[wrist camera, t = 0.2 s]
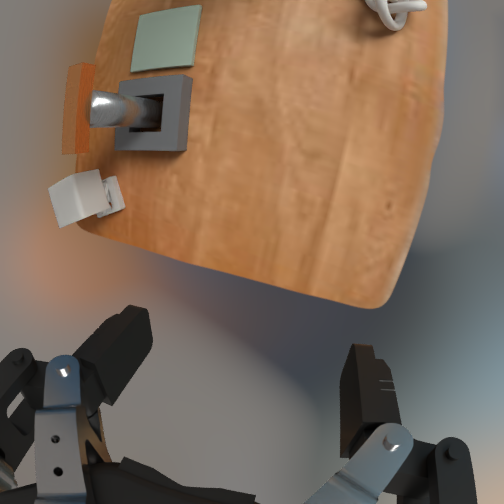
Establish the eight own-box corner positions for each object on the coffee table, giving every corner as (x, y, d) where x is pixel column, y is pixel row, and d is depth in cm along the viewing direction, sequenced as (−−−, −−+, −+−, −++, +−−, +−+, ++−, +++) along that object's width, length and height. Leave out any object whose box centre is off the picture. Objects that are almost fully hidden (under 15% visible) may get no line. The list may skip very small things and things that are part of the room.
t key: (148, 85, 35) (62, 68, 20) (172, 83, 34) (89, 60, 19) (143, 145, 38) (56, 154, 23) (166, 145, 38) (81, 153, 22)
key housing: (131, 84, 35) (119, 81, 33) (192, 78, 34) (183, 74, 31) (126, 149, 39) (114, 150, 36) (186, 150, 37) (176, 151, 35)
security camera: (115, 165, 40) (70, 174, 31) (127, 207, 42) (85, 224, 33) (89, 177, 42) (45, 189, 33) (100, 216, 44) (59, 234, 35)
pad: (142, 16, 31) (139, 15, 30) (202, 6, 29) (200, 4, 29) (133, 72, 35) (130, 71, 34) (193, 66, 33) (191, 64, 32)
